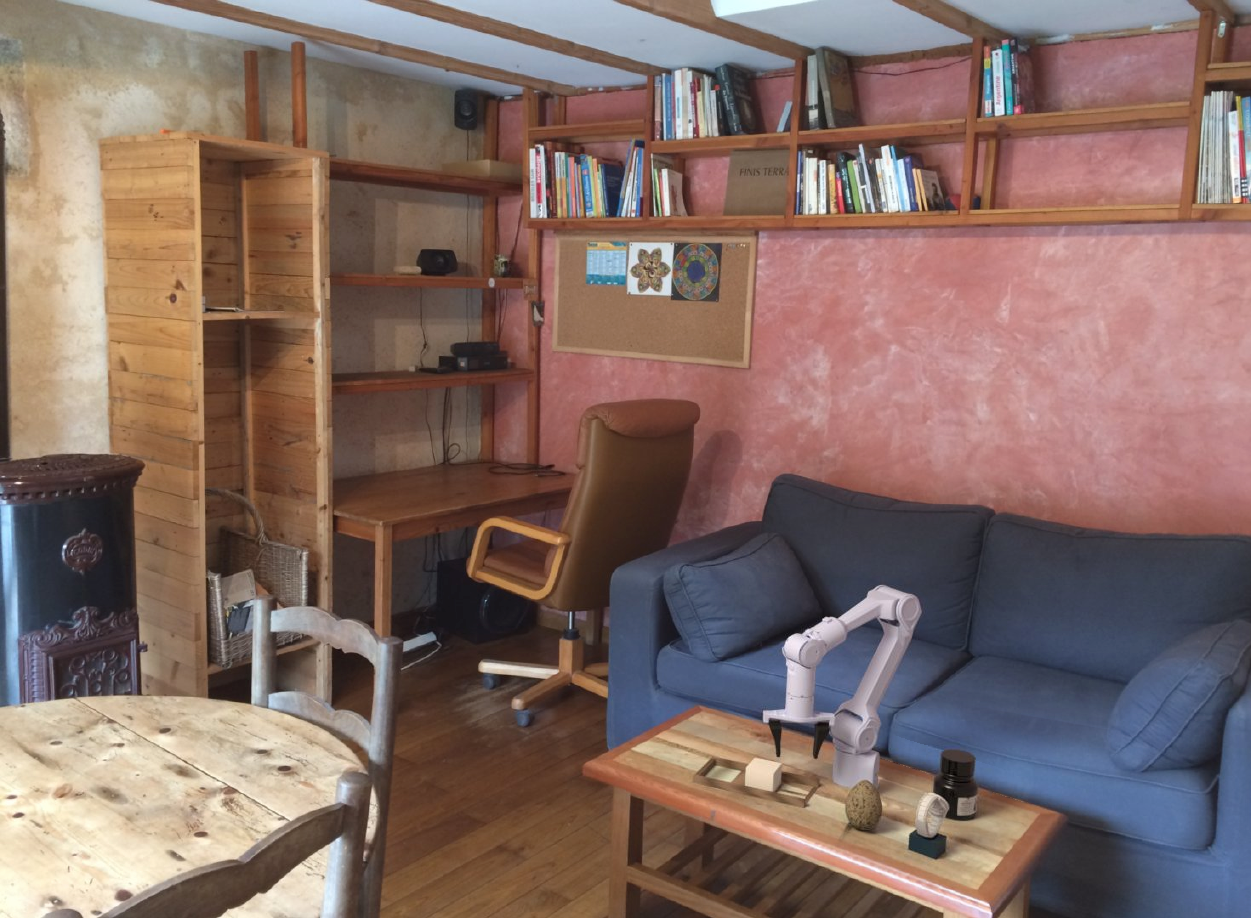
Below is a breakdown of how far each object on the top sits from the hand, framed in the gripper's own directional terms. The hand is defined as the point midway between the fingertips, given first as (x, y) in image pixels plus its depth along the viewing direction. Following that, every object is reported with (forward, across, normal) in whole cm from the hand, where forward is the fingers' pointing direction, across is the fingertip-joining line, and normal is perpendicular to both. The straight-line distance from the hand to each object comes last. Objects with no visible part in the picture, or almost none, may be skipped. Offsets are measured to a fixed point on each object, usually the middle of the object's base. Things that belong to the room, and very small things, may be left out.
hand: (796, 756), depth 228 cm
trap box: (+9, +8, -3) cm, 13 cm away
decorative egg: (+10, -12, +12) cm, 19 cm away
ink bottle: (+10, -32, +2) cm, 34 cm away
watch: (+10, -23, +20) cm, 32 cm away
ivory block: (+8, +6, -3) cm, 10 cm away
